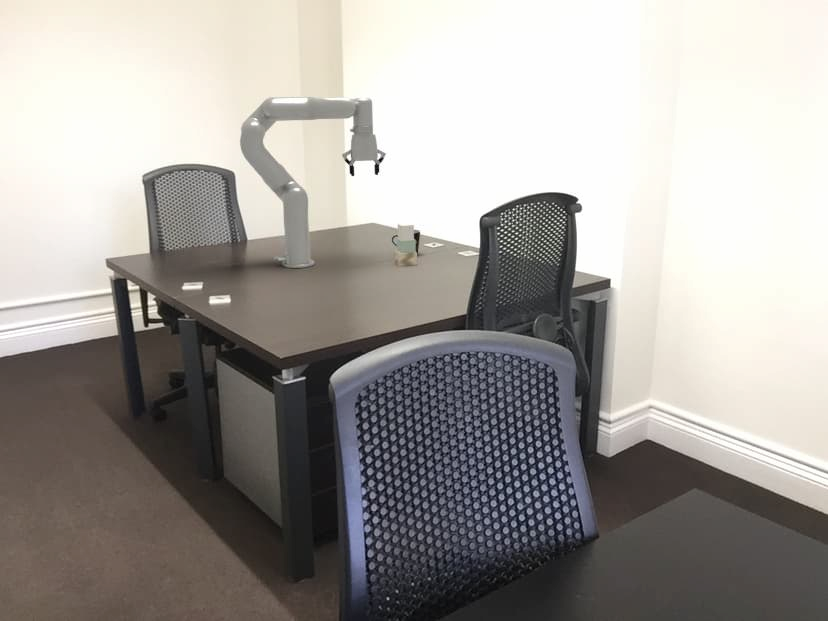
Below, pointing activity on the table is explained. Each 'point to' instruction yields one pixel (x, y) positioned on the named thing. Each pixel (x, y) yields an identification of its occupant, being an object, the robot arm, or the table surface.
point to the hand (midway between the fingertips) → (364, 175)
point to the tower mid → (406, 246)
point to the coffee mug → (416, 237)
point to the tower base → (405, 258)
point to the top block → (406, 232)
